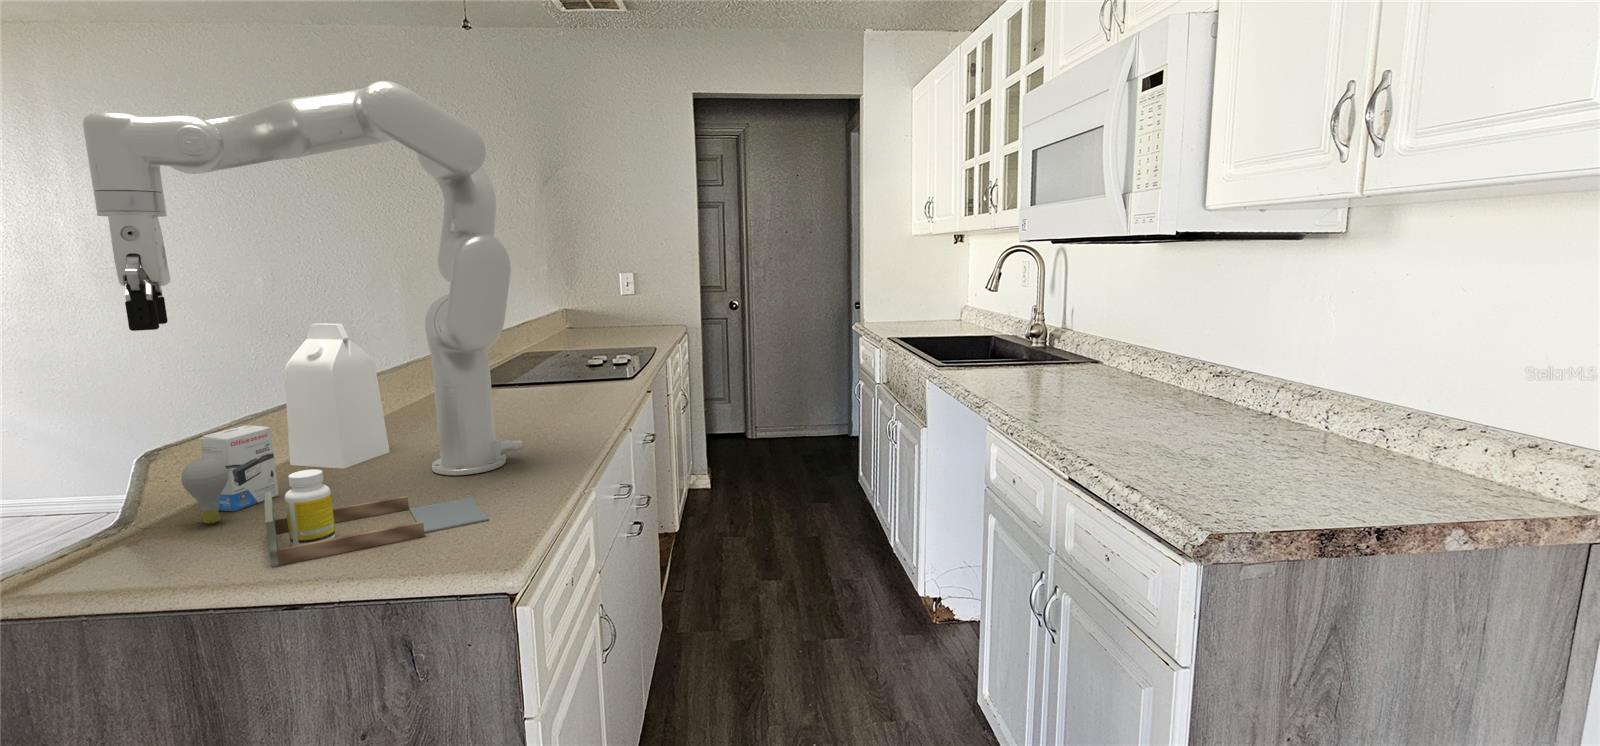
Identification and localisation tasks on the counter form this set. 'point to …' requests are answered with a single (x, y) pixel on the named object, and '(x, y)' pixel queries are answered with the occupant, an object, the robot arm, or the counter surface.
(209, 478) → the light bulb
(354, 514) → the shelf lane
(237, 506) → the ink box
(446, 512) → the mat
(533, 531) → the counter surface
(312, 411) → the milk
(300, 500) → the supplement bottle
